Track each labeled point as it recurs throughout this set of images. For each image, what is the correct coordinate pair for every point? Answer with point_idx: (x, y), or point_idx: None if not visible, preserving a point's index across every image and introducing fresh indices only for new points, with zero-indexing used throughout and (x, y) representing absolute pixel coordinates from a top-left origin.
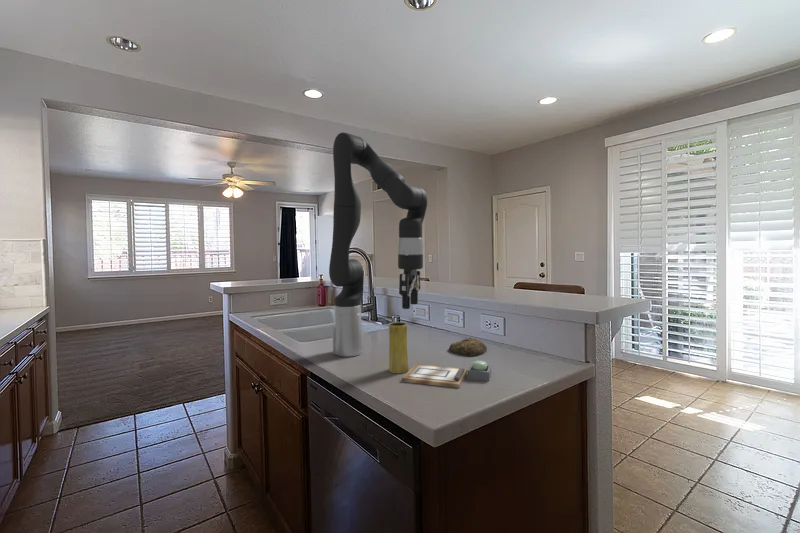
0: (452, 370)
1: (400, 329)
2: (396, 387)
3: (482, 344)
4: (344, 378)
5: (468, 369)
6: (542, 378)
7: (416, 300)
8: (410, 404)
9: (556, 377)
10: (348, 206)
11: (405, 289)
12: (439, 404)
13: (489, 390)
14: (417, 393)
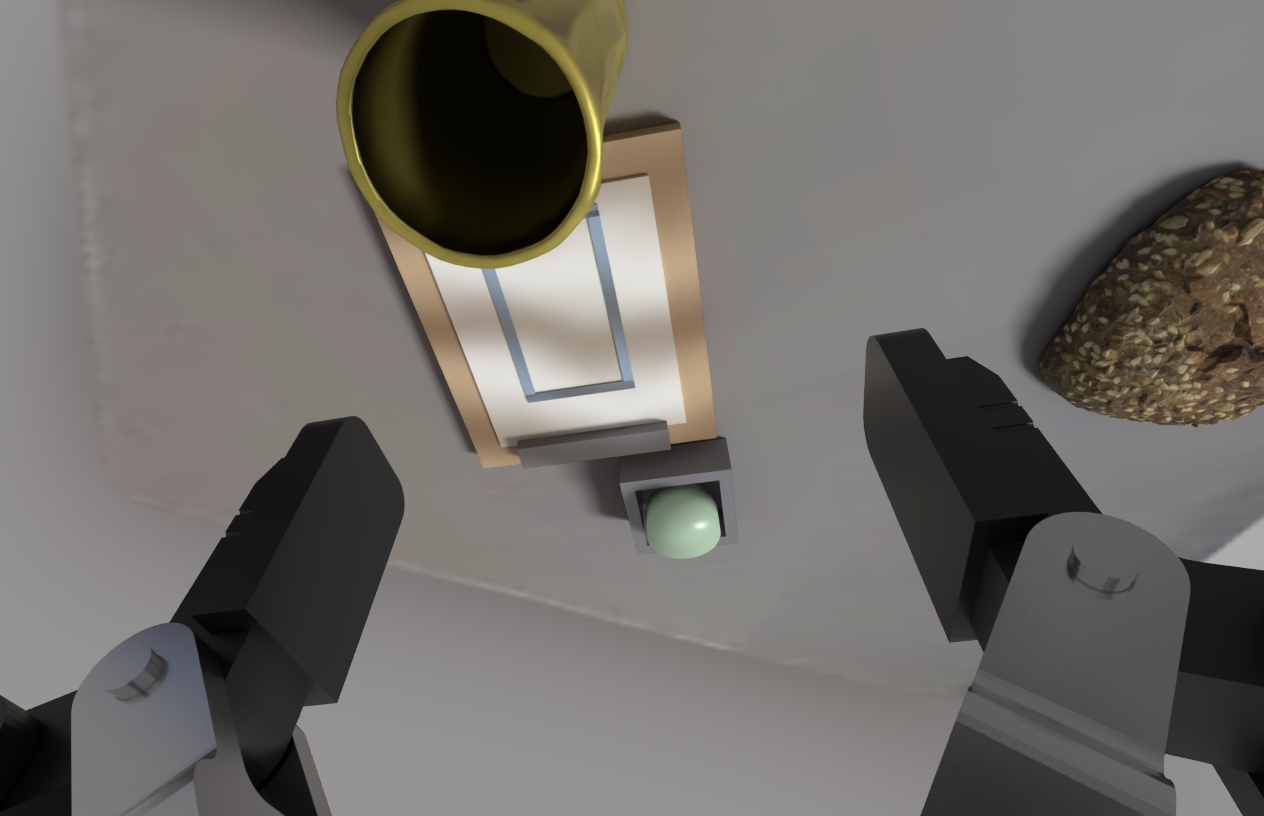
0: (649, 392)
1: (413, 214)
2: (269, 196)
3: (1191, 423)
4: None
5: (632, 484)
6: (759, 636)
7: (884, 483)
8: (170, 358)
9: (788, 661)
10: None
11: (253, 805)
12: (274, 448)
13: (536, 542)
14: (295, 332)
